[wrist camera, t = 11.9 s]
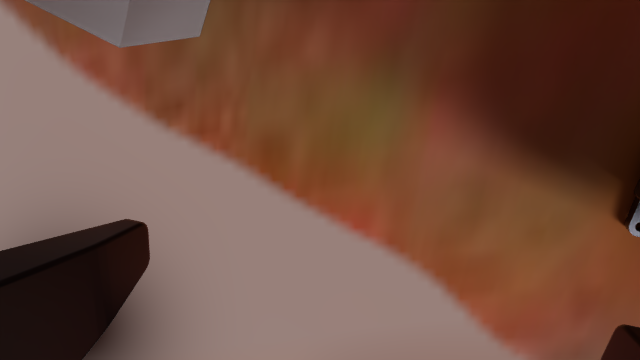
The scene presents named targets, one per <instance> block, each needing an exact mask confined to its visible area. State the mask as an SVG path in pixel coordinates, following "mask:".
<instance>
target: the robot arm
mask: <svg viewBox="0 0 640 360" xmlns="http://www.w3.org/2000/svg"><path fill="white" fill-rule="evenodd" d="M634 193H635V195H636V198H635V200H634V202H633V205H632V207H631V209H630V211H629V214H628V216H627V218H626V221H625V226H626V228H627V229H628V231H629V232H630V233H631V234H633V235H634V236H637V237H640V227H639V228H635V226H636V224H637V223H639V222H640V179H639V181H638V184H637V186H636V188H635V191H634ZM149 260H150V251H149V235H148V227H147V225H146V224H145V223H143V222H139V221H134V220H130V219H124V220H120V221H116V222H113V223H109V224H104V225H101V226H97V227H93V228H89V229H85V230H81V231H77V232H73V233H69V234H65V235H61V236H57V237H53V238H49V239H46V240H42V241H38V242H34V243H30V244H26V245H22V246H18V247H14V248H10V249H6V250H2V251H0V360H82V359H83V358H84V357H85V356H86V354H87V353H88V352H89V351H90V349H91V348H92V347H93V346H94V345H95V343H96V342H97V341H98V339H99V338H100V337H101V335H102V334H103V333H104V332H105V330H106V329H107V328H108V326H109V325H110V323H111V322H112V321H113V319H114V318H115V316H116V315H117V313H118V311H119V310H120V308H121V307H122V305H123V304H124V302H125V301H126V299H127V298H128V296H129V295H130V293H131V292H132V290H133V289H134V287H135V285H136V284H137V282H138V281H139V279H140V278H141V276H142V275H143V273H144V272H145V270H146V268H147V266H148V264H149ZM601 360H640V328H639V327H635V326H630V325H625V324H623V325H620V326H618V327H617V328H616V329H615V331H614V332H613V335H612V337H611V339H610V341H609V343H608V345H607V347H606V349H605V351H604V353H603V355H602V358H601Z"/></svg>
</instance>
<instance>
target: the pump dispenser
mask: <svg viewBox="0 0 640 360" xmlns="http://www.w3.org/2000/svg"><path fill="white" fill-rule="evenodd" d="M25 1H27V2H29V3H31V4H33V5H35V6H37V7H39V8H41V9H43V10H45V11H47V12H49V13H51V14H53V15H55V16H57V17H59V18H61V19H63V20H65V21H67V22H69V23H71V24H73V25H75V26H77V27H79V28H81V29H83V30H85V31H87V32H89V33H91V34H93V35H95V36H97V37H99V38H101V39H103V40H105V41H107V42H109V43H111V44H113V45H115V46H117V47H119V48H121V47H128V46H135V45H142V44H150V43H157V42H164V41H171V40H178V39H185V38H192V37H199V36H200V34H201V30H202V27H203V23H204V20H205V16H206V13H207V9H208V6H209V3H210V0H25Z"/></svg>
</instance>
